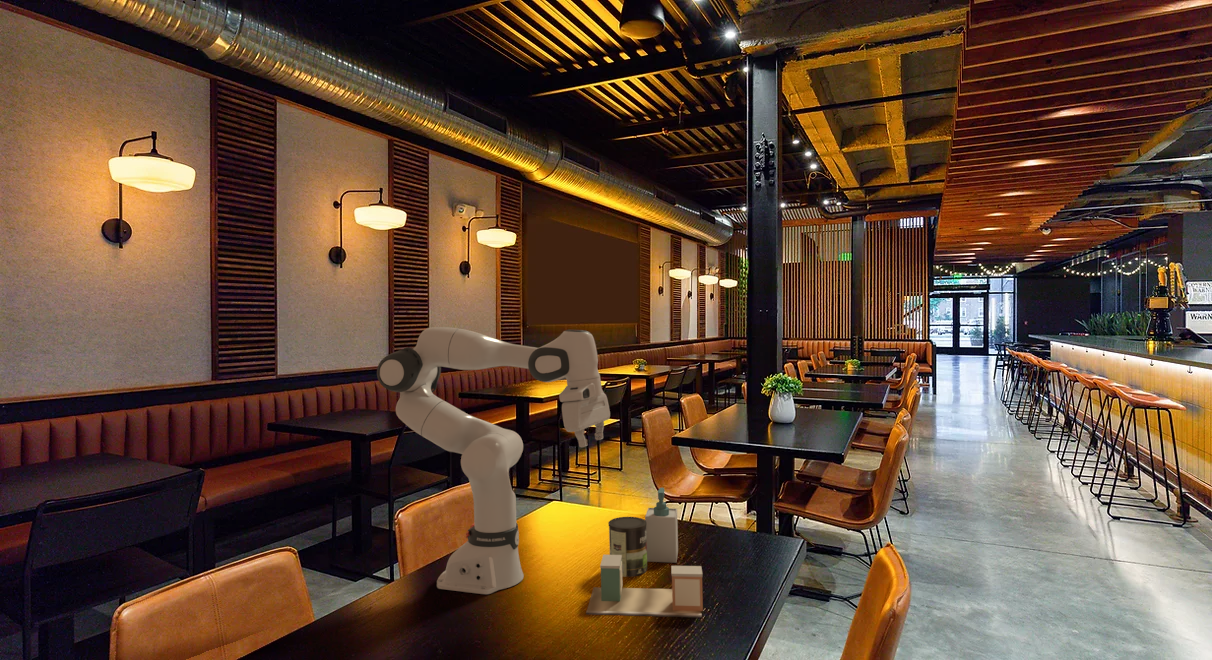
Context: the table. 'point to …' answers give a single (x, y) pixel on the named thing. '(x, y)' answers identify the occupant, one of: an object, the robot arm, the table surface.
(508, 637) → the table surface
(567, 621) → the table surface
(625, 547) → the coffee can
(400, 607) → the table surface
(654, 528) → the soap bottle
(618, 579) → the green tin
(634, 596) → the shelf board
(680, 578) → the rust tin
